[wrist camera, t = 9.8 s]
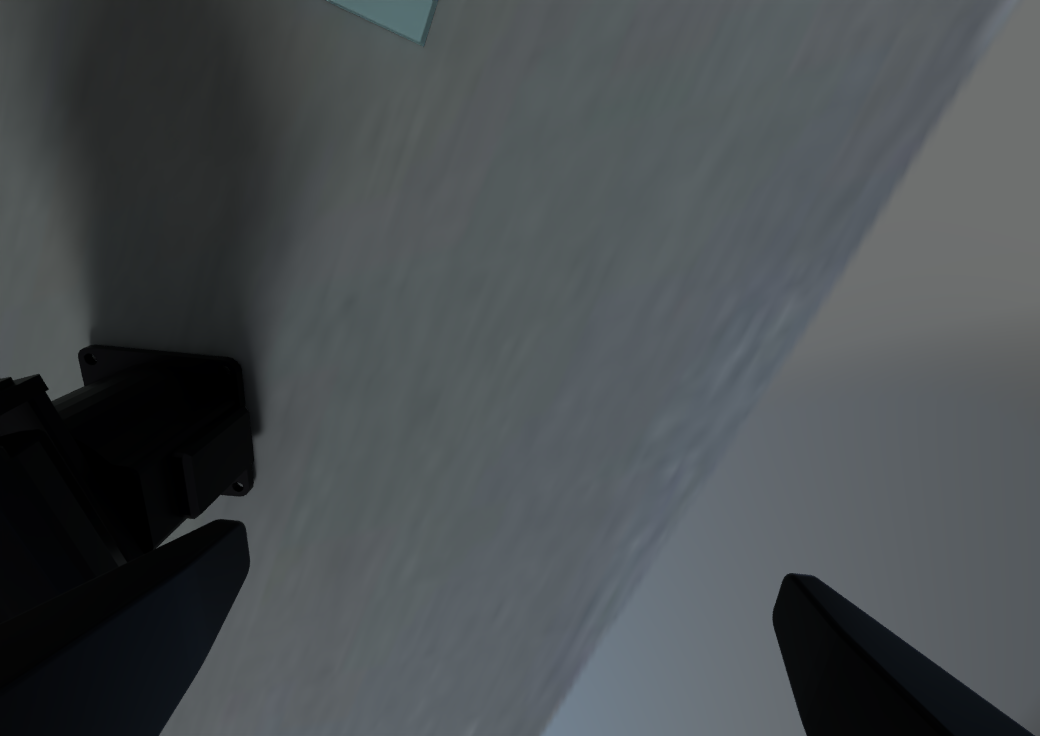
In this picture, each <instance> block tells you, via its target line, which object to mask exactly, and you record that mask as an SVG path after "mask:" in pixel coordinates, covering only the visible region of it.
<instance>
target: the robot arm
mask: <svg viewBox="0 0 1040 736" xmlns="http://www.w3.org/2000/svg"><path fill="white" fill-rule="evenodd" d="M92 354H93V355H94V356H95V357H96V359H97V361H96V360H95V359H93V357H92ZM78 359H79V364H80V368H81V373H82V377H83V382H84V387H82V388H80V389H77V390H75V391H73V392H71V393H69V394H67V395H64V396H62V397H60V398H58V399H56V400H54V401H51V400H50V398H49V397H48V395H47V394H46V392H45V391H47V390H49V389H48V387H47V386H46V384H45V382H44V381H43V379H42V378H41V376H40V374H36V375H32V376H28V377H24V378H21V379H17V380H12V378H11V377H7V378H2V379H0V736H159V735H160V733H161V731H162V730H163V728H164V726H165V725H166V723H167V722H168V720H169V718H170V717H171V715H172V714H173V712H174V710H175V709H176V707H177V706H178V704H179V702H180V701H181V699H182V697H183V696H184V694H185V693H186V691H187V689H188V688H189V686H190V685H191V683H192V681H193V680H194V678H195V676H196V675H197V673H198V671H199V670H200V668H201V666H202V664H203V663H204V661H205V659H206V657H207V655H208V653H209V651H210V649H211V647H212V645H213V643H214V641H215V639H216V637H217V635H218V633H219V631H220V629H221V627H222V625H223V623H224V621H225V619H226V617H227V615H228V613H229V611H230V609H231V607H232V605H233V603H234V601H235V599H236V597H237V595H238V593H239V591H240V589H241V587H242V585H243V583H244V581H245V579H246V577H247V574H248V571H249V567H250V556H249V548H248V541H247V533H246V528H245V525H244V524H243V523H242V522H240V521H235V520H224V519H218V520H215V521H212V522H210V523H208V524H206V525H204V526H202V527H200V528H198V529H196V530H194V531H192V532H189V533H187V534H185V535H183V536H181V537H179V538H177V539H175V540H173V541H171V542H169V543H167V544H165V545H162V546H160V547H158V546H159V545H160V544H161V543H162V542H163V541H164V540H165V539H166V538H167V537H168V536H169V535H170V534H171V533H172V532H173V531H174V530H175V529H177V528H178V527H179V526H180V525H181V524H182V523H183V522H184V521H185V520H186V519H187V518H189V519H195V518H197V517H198V516H199V515H200V514H202V513H203V512H204V511H205V510H206V509H207V508H208V507H209V506H210V505H211V504H212V503H213V502H214V501H215V500H216V499H217V498H218V497H219V496H220V495H228V496H244V495H246V494H247V493H248V492H249V491H250V490H251V489H252V488H253V484H254V482H253V472H252V463H253V461H254V455H253V445H252V436H251V426H250V417H249V411H248V410H247V408H246V406H245V397H244V387H243V378H242V369H241V366H240V364H239V363H238V362H237V361H236V360H234V359H233V358H229V357H220V356H209V355H199V354H188V353H178V352H167V351H156V350H146V349H135V348H125V347H114V346H104V345H91V346H88V347H85V348H83V349H81V350H80V351H79V353H78ZM224 366H225V367H227V368H228V369H229V370H230V372H231V373H230V374H228V373H226V372H225V371H224ZM237 482H239V483H241V484H242V485H243V487H242V486H240V485H239V484H238V483H237ZM157 547H158V548H157ZM773 626H774V630H775V633H776V637H777V640H778V644H779V647H780V650H781V654H782V657H783V660H784V664H785V667H786V671H787V674H788V677H789V681H790V684H791V688H792V691H793V694H794V698H795V702H796V705H797V708H798V711H799V715H800V718H801V721H802V724H803V726H804V729H805V732H806V735H807V736H1035V735H1033V734H1032V733H1031V732H1029V731H1028V730H1026V729H1025V728H1024V727H1022V726H1021V725H1020V724H1018V723H1017V722H1015V721H1014V720H1013V719H1011V718H1010V717H1009V716H1007V715H1006V714H1004V713H1003V712H1002V711H1000V710H999V709H997V708H996V707H995V706H993V705H992V704H991V703H989V702H988V701H986V700H985V699H984V698H982V697H981V696H979V695H978V694H977V693H975V692H974V691H973V690H971V689H970V688H969V687H967V686H966V685H964V684H963V683H962V682H960V681H959V680H957V679H956V678H955V677H953V676H952V675H950V674H949V673H948V672H946V671H945V670H943V669H942V668H941V667H940V666H938V665H937V664H935V663H934V662H933V661H931V660H930V659H928V658H927V657H926V656H924V655H923V654H921V653H920V652H918V651H917V650H916V649H915V648H913V647H912V646H910V645H909V644H908V643H906V642H905V641H904V640H902V639H901V638H900V637H898V636H897V635H895V634H894V633H893V632H891V631H890V630H888V629H887V628H886V627H884V626H883V625H881V624H880V623H879V622H877V621H876V620H875V619H873V618H872V617H870V616H869V615H868V614H866V613H865V612H864V611H862V610H861V609H859V608H858V607H857V606H855V605H854V604H853V603H851V602H850V601H848V600H847V599H846V598H844V597H843V596H842V595H840V594H839V593H837V592H836V591H835V590H833V589H832V588H831V587H829V586H828V585H826V584H825V583H824V582H822V581H821V580H819V579H818V578H816V577H815V576H812V575H806V574H796V573H790V574H787V575H786V576H785V577H784V579H783V581H782V584H781V587H780V591H779V594H778V597H777V600H776V603H775V606H774V609H773Z"/></svg>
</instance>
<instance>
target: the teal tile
mask: <svg viewBox="0 0 1040 736" xmlns="http://www.w3.org/2000/svg"><path fill="white" fill-rule="evenodd" d="M325 1H328V2H330V3H332V4H334V5H336V6H338V7H340V8H342V9H345V10H347V11H349V12H351V13H353V14H355V15H357V16H359V17H362V18H364V19H366V20H368V21H370V22H372V23H374V24H376V25H378V26H381V27H383V28H385V29H387V30H389V31H391V32H393V33H395V34H398V35H400V36H402V37H404V38H406V39H408V40H410V41H412V42H415V43H417V44H419V45H421V46H423V47H424V45H425V41H426V38H427V35H428V32H429V29H430V25H431V22H432V19H433V16H434V12H435V9H436V6H437V3H438V0H325Z"/></svg>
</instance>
